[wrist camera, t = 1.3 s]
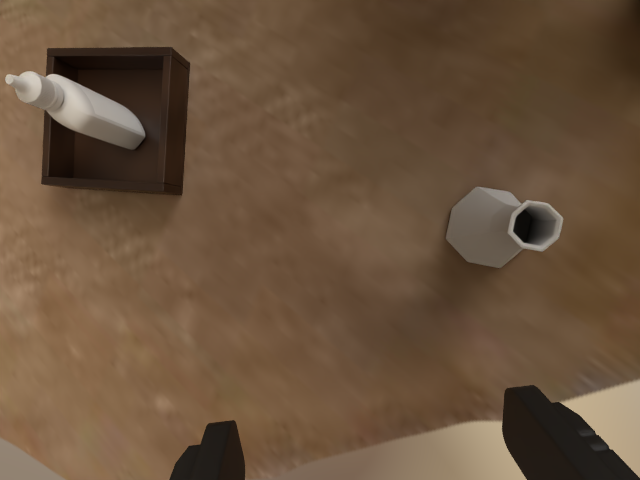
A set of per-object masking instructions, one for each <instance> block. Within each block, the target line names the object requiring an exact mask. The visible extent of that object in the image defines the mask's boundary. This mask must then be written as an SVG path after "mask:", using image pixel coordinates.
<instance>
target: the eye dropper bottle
mask: <svg viewBox="0 0 640 480" xmlns="http://www.w3.org/2000/svg"><path fill="white" fill-rule="evenodd" d="M5 81H6V83H7V84H9V85H11V86H12V87H14V88H15V91H16V94H17V96H18V98H19V99H20V100H21V101H23V102H25V103H27V104H30V105H33V106H36V107H38V108H41V109H44V110H46V111H47V112H48V113H49V115H50V116H51V117H53V118H54V119H55V120H56V121H57V122H59V123H60V124H62V125H64V126H65V127H67V128H69V129H72V130H74V131H76V132H79V133H82V134H85V135H88V136H91V137H94V138H97V139H100V140H103V141H106V142H109V143H112V144H115V145H118V146H121V147H124V148H127V149H130V150H134V149H136V148H137V147H138V146H139V144H140V143H141V142H142V141H143V140H144V138H145V131H144V129H143V127H142V125H141V123H140V121H139V120H138V118H137V117H136V116H135V115H134V114H133V113H132V112H131V111H130V110H129V109H127V108H126V107H124V106H122V105H121V104H119V103H117V102H115V101H113V100H111V99H109V98H106V97H104V96H102V95H100V94H98V93H96V92H94V91H92V90H90V89H88V88H86V87H84V86H82V85H80V84H78V83H76V82H74V81H72V80H69V79H67V78H65V77H63V76H60V75H57V74H50V75H48V76H46V77H43V76H41V75H39V74H37V73H35V72H32V71H27V72H24V73H22V74H21V75H20V76H15V75H11V74H9V75H7V76H6V78H5Z"/></svg>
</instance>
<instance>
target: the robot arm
mask: <svg viewBox="0 0 640 480" xmlns="http://www.w3.org/2000/svg"><path fill="white" fill-rule="evenodd" d="M502 432H503V437H504V441H505V443H506V446H507V448H508V450H509V452H510V454H511V455H512V457H513V458H514V460H515V462H516V463H517V465H518V466H519V468H520V469H521V471H522V473H523V474H524V476H525V477H526V479H527V480H640V478H639V477H638V476H637V475H636V474H635V473H634V472H633V471H632V470H631V469H630V468H629V467H628V466H627V465H626V463H625V462H624V461H623V460H622V459H621V458H620V457H619V456H618V455H617V454H616V453H615V452H614V451H613V450H610V449H609V446H608V445H607V444H606V443H605V442H604V440H603V439H601V437H599V435H596V433H595V431H594V430H593V429H592V428H591V427H590V426H589V425H588V424H587V423H586V422H585V421H584V420H583V419H582V417H581V416H580V415H578V414H577V413H575V412H573V411H572V410H570V409H569V408H567V407H565V406H564V405H563V404H561V403H559V402H555V403H551V402H550V401H549V399H548V398H547V397H546V396H545V395H544V394H543V393H542V392H541V391H540V390H539V389H538V388H537V387H536V386H534V385H529V386H521V387H513V388H507V389H506V390H505V394H504V409H503V423H502ZM170 480H245V461H244V456H243V451H242V447H241V443H240V438H239V434H238V429H237V425H236V422H235V421H234V420H232V421H224V422H216V423H209V424H208V425H207V426H206V429H205V432H204V435H203V438H202V441H201V445H193V446H189V447H188V448H187V449H186V451H185V452H184V453H183V454H182V456H181V457H180V458H179V460H178V461H177V462H176V464H175V466H174V469H173V472H172V474H171V477H170Z"/></svg>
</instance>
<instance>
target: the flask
mask: <svg viewBox="0 0 640 480" xmlns="http://www.w3.org/2000/svg"><path fill="white" fill-rule="evenodd" d="M562 222H563V217H562V216H561V215H560V214H559V213H558V212H557V211H556V210H555V209H554V208H553V207H552V206H551V205H550V204H548V203H542V202H536V201H530V200H526V201H525V202H523V203H522V204H521V203H520V202H519V201H518V200H517V199H516V198H515V197H514V195H513V194H512V193H511V192H508V191H501V190H495V189H489V188H483V187H475V188H474V189H473V190H472V191H471V192H470V193H469V194H467V195H466V196H465V197H464V198H463V199H462V200H461V201H459V202H458V203H457V204H456V205H455V206H454V207H453V208H452V210H451V215H450V220H449V225H448V229H447V234H446V240H447V241H448V242H449V243H450V244H451V245H452V246H453V247H454V248H455V249H456V250H457V251H458V252H459V254H460V255H461V256H462V257H463V258H464V259H465V260H466V261H467V262H470V263H475V264H481V265H486V266H491V267H496V268H501V267H502V266H504V265H505V264H506V263H507V262H508V261H510V260H511V259H512V258H513V257H514V256H516V255H517V254H518V253H519V252H521V251H522V250H523V249H524V248H525V249H530V250H536V251H544V250H545V249H546V248H547V247H549V246H550V245H551V244H552V243H554V242H555V241H556V240H557V239H558V238H559V236H560V231H561V227H562Z"/></svg>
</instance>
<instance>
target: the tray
mask: <svg viewBox="0 0 640 480" xmlns="http://www.w3.org/2000/svg"><path fill="white" fill-rule="evenodd" d="M189 68H190V63H189V62H188V61H187V60H185V59H184V58H183V57H182V56H181V55H180V54H179V53H178V52H176V51H175V50H174V49H173V48H172V47H132V48H48V49H47V67H46V76H48V75H50V74H57V75H60V76H63V77H65V78H67V79H69V80H72V81H74V82H76V83H78V84H80V85H82V86H84V87H86V88H88V89H90V90H92V91H94V92H96V93H98V94H100V95H102V96H104V97H106V98H109V99H111V100H113V101H115V102H117V103H119V104H121V105H122V106H124V107H126V108H127V109H129V110H130V111H131V112H132V113H133V114H134V115H135V116H136V117H137V118H138V120H139V121H140V123H141V125H142V127H143V129H144V131H145V138H144V140H143V141H142V142H141V143H140V144H139V146H138V147H137V148H136V149H134V150H130V149H127V148H124V147H121V146H118V145H115V144H112V143H109V142H106V141H103V140H100V139H97V138H94V137H91V136H88V135H85V134H82V133H79V132H76V131H74V130H72V129H69V128H67V127H65V126H64V125H62V124H60V123H59V122H57V121H56V120H55V119H54V118H53V117H51V116H50V115H49V113H48V112H47V111H46V110H45V113H44V136H43V159H42V176H43V177H42V180H41V184H43V185H50V186H58V187H65V188H75V189H92V190H108V191H124V192H140V193H156V194H172V195H182V189H183V172H184V155H185V137H186V120H187V103H188V86H189Z"/></svg>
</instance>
